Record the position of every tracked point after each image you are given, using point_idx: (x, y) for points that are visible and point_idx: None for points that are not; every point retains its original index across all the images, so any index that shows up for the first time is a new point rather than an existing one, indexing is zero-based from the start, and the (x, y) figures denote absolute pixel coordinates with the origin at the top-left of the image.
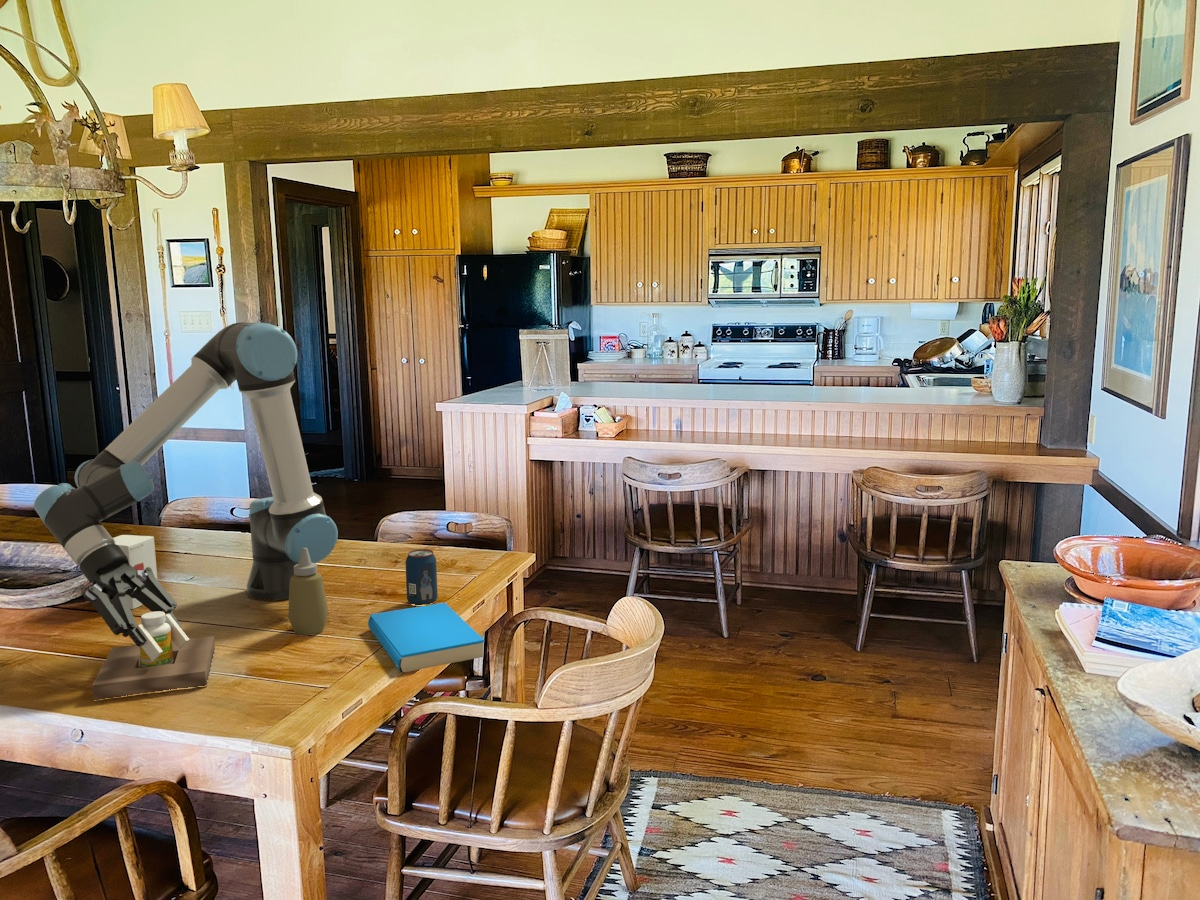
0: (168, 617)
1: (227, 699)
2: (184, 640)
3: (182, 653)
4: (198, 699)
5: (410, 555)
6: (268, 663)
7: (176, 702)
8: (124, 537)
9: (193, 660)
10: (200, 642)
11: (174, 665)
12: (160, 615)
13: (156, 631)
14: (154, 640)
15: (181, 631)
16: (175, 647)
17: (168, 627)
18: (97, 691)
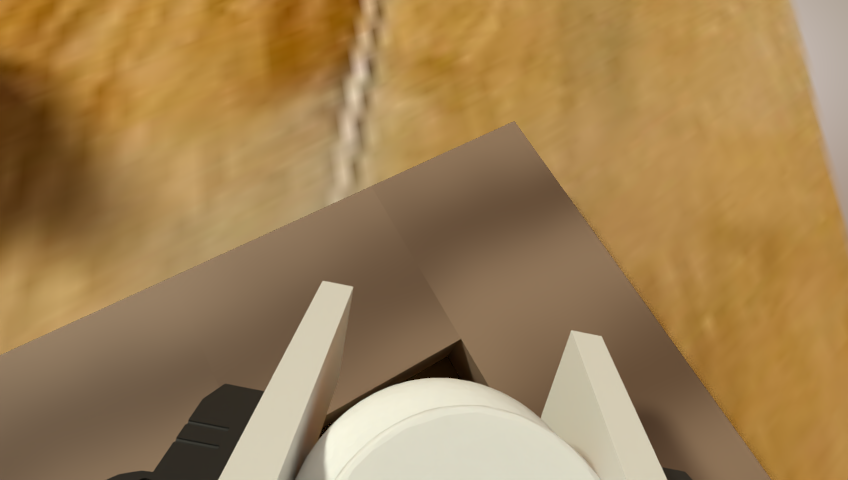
0: (278, 469)
1: (569, 40)
2: (348, 305)
3: None
4: (603, 134)
5: None
6: (215, 46)
7: (654, 199)
8: None
9: (398, 255)
10: (92, 394)
11: (488, 317)
12: (475, 436)
13: (548, 426)
14: (598, 399)
15: (313, 330)
16: None
17: (408, 385)
18: None
